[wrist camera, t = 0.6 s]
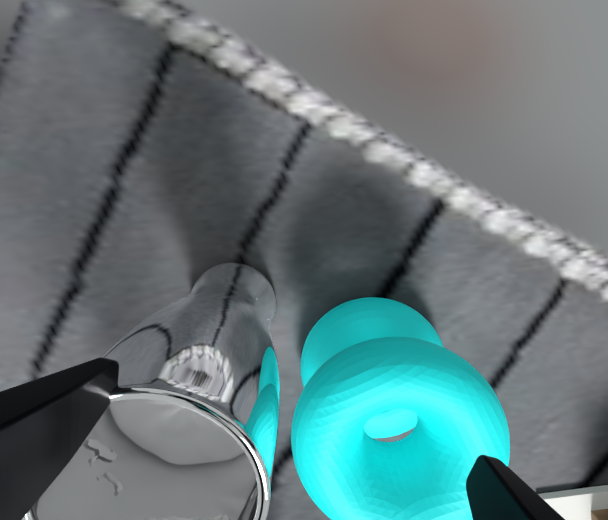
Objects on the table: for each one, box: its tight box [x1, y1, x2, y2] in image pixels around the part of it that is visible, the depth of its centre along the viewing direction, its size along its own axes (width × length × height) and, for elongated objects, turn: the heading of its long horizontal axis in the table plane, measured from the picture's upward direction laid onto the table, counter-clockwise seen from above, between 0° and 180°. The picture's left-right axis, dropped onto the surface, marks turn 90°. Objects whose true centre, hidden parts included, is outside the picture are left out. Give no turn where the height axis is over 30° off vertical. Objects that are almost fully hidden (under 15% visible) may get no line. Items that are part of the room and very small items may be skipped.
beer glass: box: [22, 263, 280, 520], centre depth 15 cm, size 7×7×15 cm
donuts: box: [291, 297, 510, 520], centre depth 18 cm, size 10×10×10 cm
